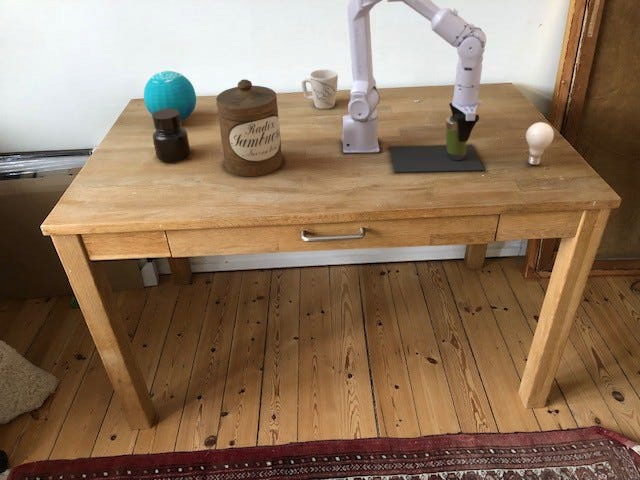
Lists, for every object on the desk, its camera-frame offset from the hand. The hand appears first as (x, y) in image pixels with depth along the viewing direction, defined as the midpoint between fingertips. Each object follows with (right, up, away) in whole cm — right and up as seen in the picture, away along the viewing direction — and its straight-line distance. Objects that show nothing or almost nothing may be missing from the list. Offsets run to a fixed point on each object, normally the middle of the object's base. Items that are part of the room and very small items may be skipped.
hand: (460, 136), depth 137 cm
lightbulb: (+18, -7, 0) cm, 20 cm away
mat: (-6, -5, +4) cm, 9 cm away
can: (0, -4, +3) cm, 6 cm away
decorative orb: (-79, +10, +28) cm, 85 cm away
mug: (-35, +16, +35) cm, 53 cm away
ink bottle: (-75, -4, +10) cm, 75 cm away
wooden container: (-53, -6, +5) cm, 53 cm away
